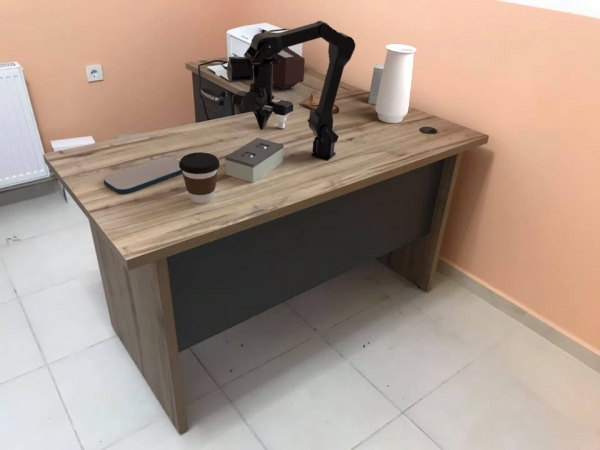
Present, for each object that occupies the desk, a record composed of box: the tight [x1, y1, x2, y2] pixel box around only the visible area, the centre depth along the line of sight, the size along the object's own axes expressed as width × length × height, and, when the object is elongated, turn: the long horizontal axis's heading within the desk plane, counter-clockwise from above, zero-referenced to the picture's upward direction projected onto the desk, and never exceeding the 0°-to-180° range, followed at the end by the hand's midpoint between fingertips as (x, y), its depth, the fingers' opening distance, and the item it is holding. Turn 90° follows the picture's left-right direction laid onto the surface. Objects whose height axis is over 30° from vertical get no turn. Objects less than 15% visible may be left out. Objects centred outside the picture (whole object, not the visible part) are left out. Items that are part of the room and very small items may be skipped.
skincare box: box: [367, 64, 384, 106], centre depth 214 cm, size 8×7×16 cm
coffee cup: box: [179, 151, 221, 205], centre depth 137 cm, size 11×11×12 cm
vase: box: [374, 44, 417, 124], centre depth 195 cm, size 13×13×28 cm
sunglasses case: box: [298, 93, 340, 115], centre depth 208 cm, size 18×7×7 cm
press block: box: [225, 137, 285, 183], centre depth 157 cm, size 10×18×6 cm, turn 152°
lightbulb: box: [275, 99, 290, 130], centre depth 185 cm, size 6×6×11 cm
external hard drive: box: [103, 156, 183, 195], centre depth 149 cm, size 24×12×2 cm, turn 138°
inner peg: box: [258, 144, 267, 149], centre depth 160 cm, size 3×3×6 cm
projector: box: [252, 28, 306, 91], centre depth 225 cm, size 16×23×25 cm
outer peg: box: [244, 153, 253, 158], centre depth 153 cm, size 3×3×6 cm
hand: (262, 129), depth 155 cm, fingers closed
